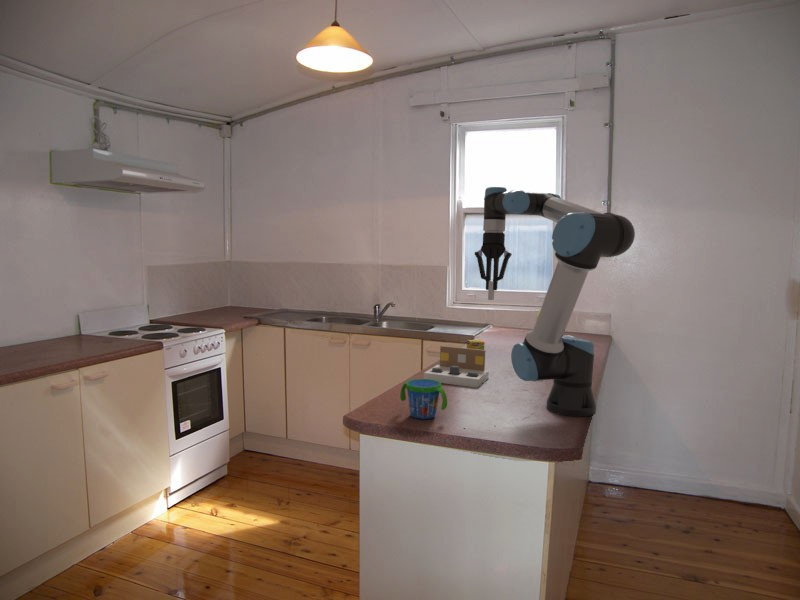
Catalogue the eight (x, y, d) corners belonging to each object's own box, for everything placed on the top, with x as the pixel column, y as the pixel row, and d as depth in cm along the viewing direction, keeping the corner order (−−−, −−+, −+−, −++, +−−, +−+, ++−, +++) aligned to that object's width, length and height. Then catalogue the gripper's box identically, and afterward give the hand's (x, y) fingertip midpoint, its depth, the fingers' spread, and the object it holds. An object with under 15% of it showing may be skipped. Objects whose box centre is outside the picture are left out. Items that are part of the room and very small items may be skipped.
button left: (439, 379, 209) (440, 370, 209) (430, 378, 211) (431, 369, 210) (442, 377, 213) (443, 368, 212) (433, 376, 214) (434, 367, 214)
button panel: (478, 387, 200) (479, 357, 199) (423, 380, 208) (424, 351, 207) (488, 378, 215) (489, 350, 214) (437, 372, 223) (438, 345, 222)
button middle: (457, 377, 206) (458, 368, 206) (448, 376, 208) (448, 367, 207) (460, 375, 210) (460, 366, 209) (451, 374, 211) (451, 365, 211)
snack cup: (391, 413, 167) (392, 380, 166) (414, 407, 174) (415, 375, 173) (431, 426, 156) (432, 391, 155) (454, 418, 164) (455, 384, 163)
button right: (475, 383, 204) (476, 374, 204) (466, 382, 205) (466, 373, 205) (478, 381, 207) (478, 372, 207) (468, 380, 209) (469, 371, 208)
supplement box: (470, 367, 233) (471, 342, 232) (465, 364, 239) (466, 339, 238) (483, 367, 235) (484, 341, 233) (478, 364, 240) (479, 339, 239)
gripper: (514, 232, 194) (511, 299, 196) (478, 232, 199) (475, 297, 201) (510, 232, 187) (507, 301, 189) (473, 231, 192) (470, 299, 194)
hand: (490, 299), depth 195 cm, fingers closed
